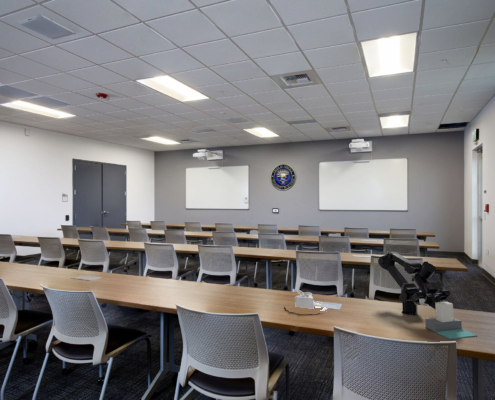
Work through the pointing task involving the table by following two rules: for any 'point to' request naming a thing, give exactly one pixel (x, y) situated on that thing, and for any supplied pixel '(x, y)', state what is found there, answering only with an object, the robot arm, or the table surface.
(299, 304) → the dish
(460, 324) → the plinth
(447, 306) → the card box
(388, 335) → the table surface
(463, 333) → the mat
